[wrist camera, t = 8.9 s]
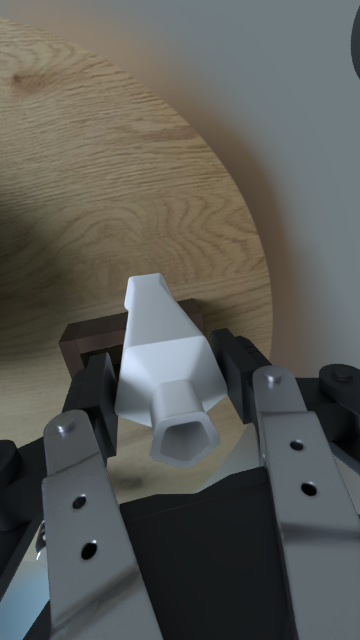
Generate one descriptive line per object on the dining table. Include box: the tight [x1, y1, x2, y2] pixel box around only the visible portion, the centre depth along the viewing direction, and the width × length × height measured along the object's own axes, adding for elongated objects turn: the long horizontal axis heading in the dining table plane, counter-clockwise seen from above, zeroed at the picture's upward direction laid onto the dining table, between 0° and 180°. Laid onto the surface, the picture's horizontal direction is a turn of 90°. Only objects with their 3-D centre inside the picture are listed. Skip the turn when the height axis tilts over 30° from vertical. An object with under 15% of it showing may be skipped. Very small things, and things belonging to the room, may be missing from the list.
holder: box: [58, 299, 205, 385], centre depth 39 cm, size 18×10×6 cm, turn 99°
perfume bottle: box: [114, 273, 228, 468], centre depth 15 cm, size 5×4×15 cm
